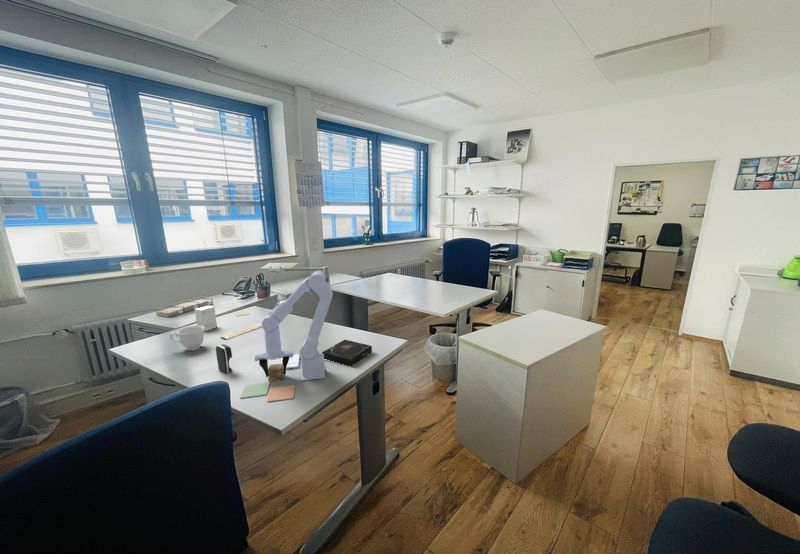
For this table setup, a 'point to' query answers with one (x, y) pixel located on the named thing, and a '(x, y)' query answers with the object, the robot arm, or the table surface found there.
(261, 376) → the table surface
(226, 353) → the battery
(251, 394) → the mat
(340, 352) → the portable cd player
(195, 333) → the teacup
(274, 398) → the mat
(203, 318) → the small box
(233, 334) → the wooden plank
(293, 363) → the external hard drive
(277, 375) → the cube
